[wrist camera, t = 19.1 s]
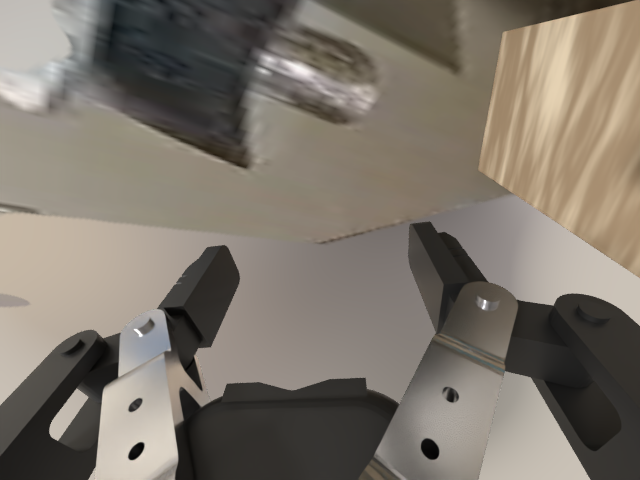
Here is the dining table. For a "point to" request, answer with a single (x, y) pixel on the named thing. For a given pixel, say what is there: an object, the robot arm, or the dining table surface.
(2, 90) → the dining table surface
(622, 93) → the notched wooden tower
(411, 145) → the dining table surface
